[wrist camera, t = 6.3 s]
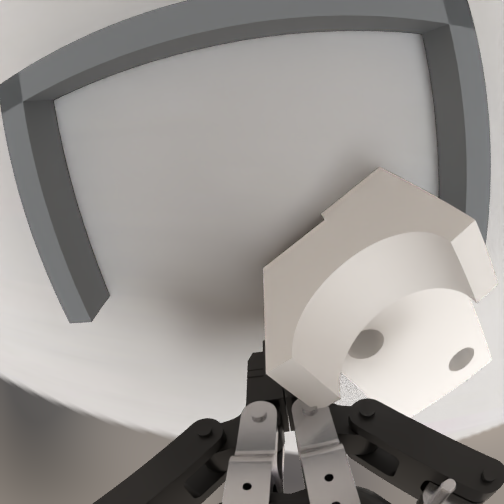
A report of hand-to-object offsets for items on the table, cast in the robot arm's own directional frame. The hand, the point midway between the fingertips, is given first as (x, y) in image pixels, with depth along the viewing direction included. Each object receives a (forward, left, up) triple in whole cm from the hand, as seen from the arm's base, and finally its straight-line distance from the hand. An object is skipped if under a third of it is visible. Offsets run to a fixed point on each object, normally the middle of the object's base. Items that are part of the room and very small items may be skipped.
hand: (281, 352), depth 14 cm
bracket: (0, +6, -3) cm, 7 cm away
